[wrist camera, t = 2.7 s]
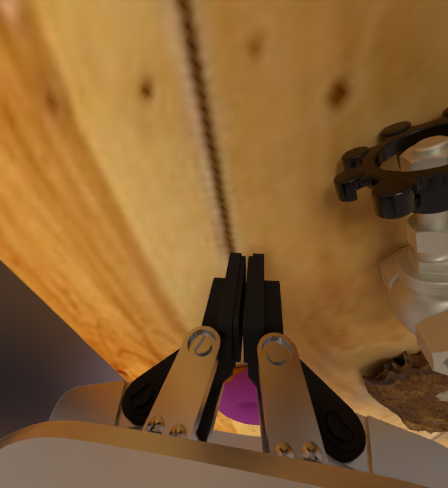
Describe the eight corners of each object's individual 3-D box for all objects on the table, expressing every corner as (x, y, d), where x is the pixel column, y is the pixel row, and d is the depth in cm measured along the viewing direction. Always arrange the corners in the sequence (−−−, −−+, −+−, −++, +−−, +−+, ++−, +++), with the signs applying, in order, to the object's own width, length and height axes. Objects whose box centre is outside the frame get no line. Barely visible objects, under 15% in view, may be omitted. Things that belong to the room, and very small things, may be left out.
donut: (302, 387, 30) (307, 428, 27) (246, 395, 36) (244, 430, 32) (257, 354, 26) (256, 398, 23) (202, 368, 32) (194, 406, 28)
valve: (467, 272, 15) (481, 83, 9) (573, 377, 10) (760, 96, 4) (359, 293, 18) (318, 157, 12) (398, 383, 12) (359, 221, 7)
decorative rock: (498, 394, 25) (469, 325, 19) (536, 441, 22) (513, 373, 16) (389, 408, 30) (341, 356, 25) (406, 447, 27) (355, 397, 21)
